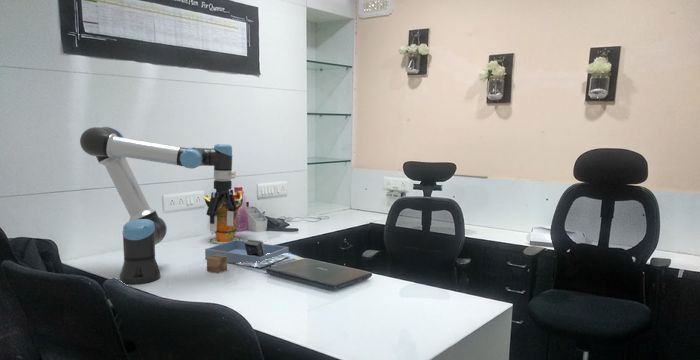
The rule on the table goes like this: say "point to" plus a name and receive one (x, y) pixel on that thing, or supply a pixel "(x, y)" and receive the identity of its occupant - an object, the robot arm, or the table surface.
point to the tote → (243, 252)
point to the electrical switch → (255, 247)
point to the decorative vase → (225, 220)
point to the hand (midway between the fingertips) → (221, 228)
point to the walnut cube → (216, 263)
